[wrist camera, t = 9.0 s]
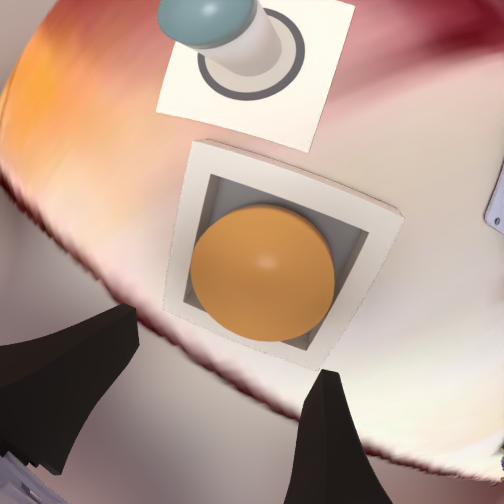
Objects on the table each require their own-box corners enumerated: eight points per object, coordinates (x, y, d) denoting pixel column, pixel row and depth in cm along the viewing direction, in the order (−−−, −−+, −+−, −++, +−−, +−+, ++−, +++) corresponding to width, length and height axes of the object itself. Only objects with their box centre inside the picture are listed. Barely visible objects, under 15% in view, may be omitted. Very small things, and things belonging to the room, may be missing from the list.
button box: (396, 208, 15) (404, 218, 13) (319, 352, 20) (317, 370, 18) (207, 139, 16) (192, 140, 14) (174, 295, 21) (162, 309, 20)
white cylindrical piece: (289, 30, 12) (264, -30, 6) (270, 83, 14) (231, 49, 7) (231, 19, 12) (176, -32, 6) (212, 69, 14) (145, 40, 8)
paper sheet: (354, 7, 11) (355, 5, 10) (307, 153, 15) (307, 153, 15) (200, -17, 12) (198, -19, 11) (157, 112, 16) (154, 112, 16)
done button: (356, 235, 14) (360, 247, 13) (302, 341, 18) (300, 358, 17) (217, 184, 15) (206, 189, 14) (191, 297, 19) (181, 310, 17)
